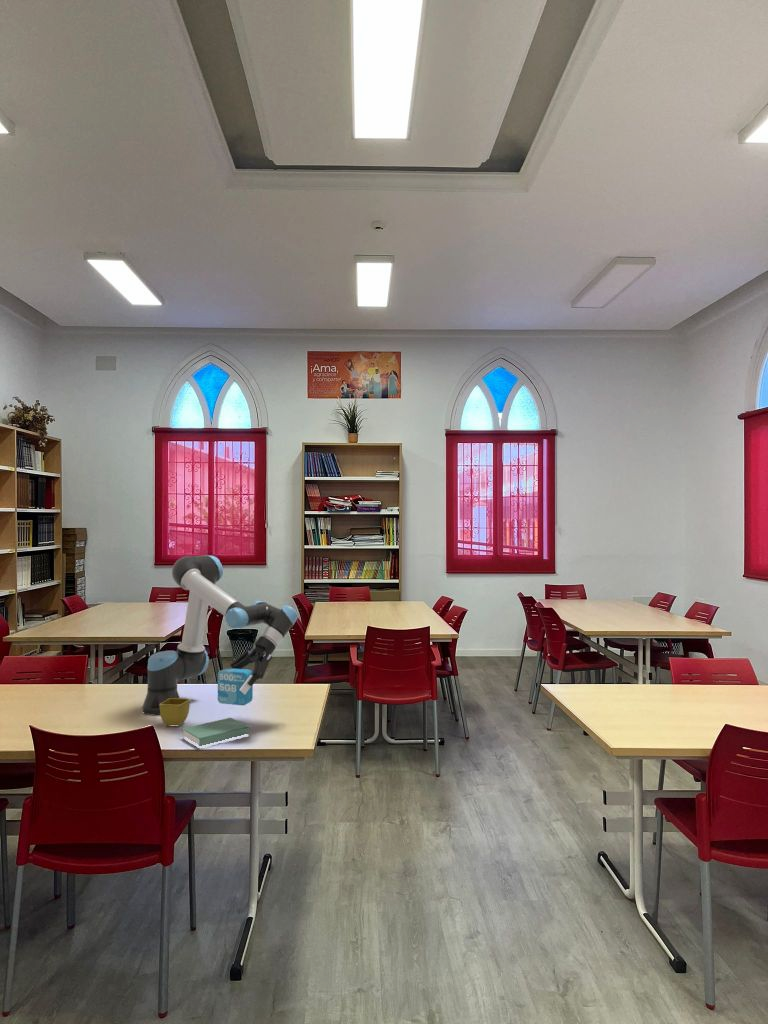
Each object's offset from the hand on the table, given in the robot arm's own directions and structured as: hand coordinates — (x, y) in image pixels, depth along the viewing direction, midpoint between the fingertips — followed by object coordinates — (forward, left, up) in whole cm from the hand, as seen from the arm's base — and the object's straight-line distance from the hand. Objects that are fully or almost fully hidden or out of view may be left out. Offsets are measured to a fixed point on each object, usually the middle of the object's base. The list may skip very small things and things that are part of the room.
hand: (232, 688), depth 221 cm
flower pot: (-26, -11, -17) cm, 33 cm away
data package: (0, +1, -6) cm, 6 cm away
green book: (-2, -6, -17) cm, 18 cm away
